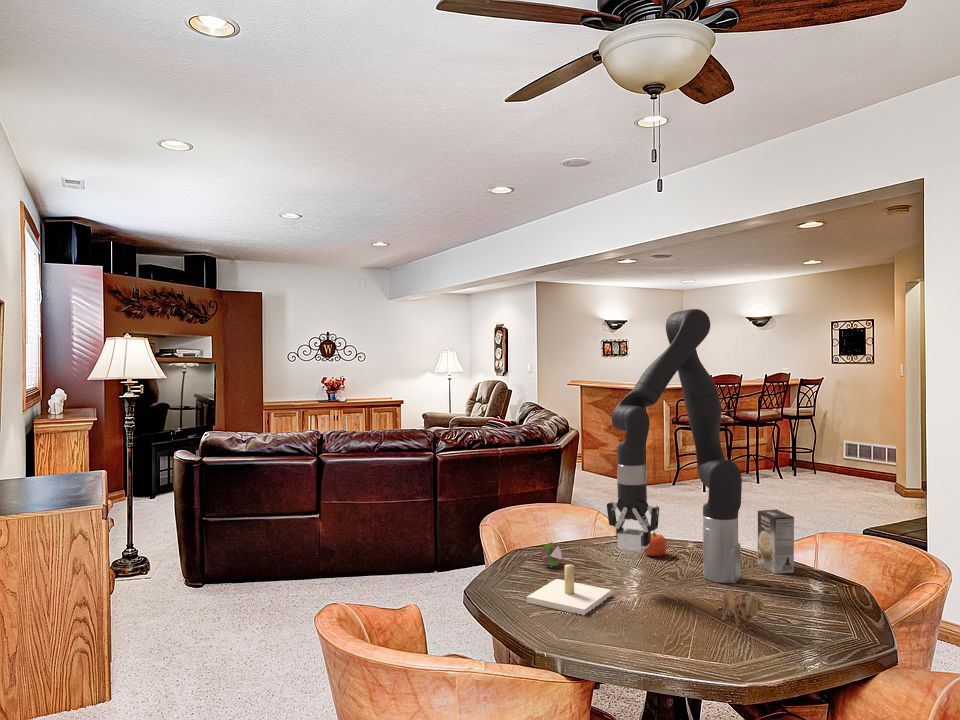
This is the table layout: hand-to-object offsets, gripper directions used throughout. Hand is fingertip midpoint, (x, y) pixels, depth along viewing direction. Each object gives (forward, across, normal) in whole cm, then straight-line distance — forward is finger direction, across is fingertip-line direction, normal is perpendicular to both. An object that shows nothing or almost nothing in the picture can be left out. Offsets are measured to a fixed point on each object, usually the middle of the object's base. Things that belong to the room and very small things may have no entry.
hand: (633, 543), depth 179 cm
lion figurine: (+13, -28, +9) cm, 33 cm away
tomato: (+13, +6, -33) cm, 36 cm away
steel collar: (+1, 0, 0) cm, 1 cm away
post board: (+12, +12, +15) cm, 22 cm away
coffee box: (+13, -28, -39) cm, 49 cm away
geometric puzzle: (+12, +28, -7) cm, 32 cm away
